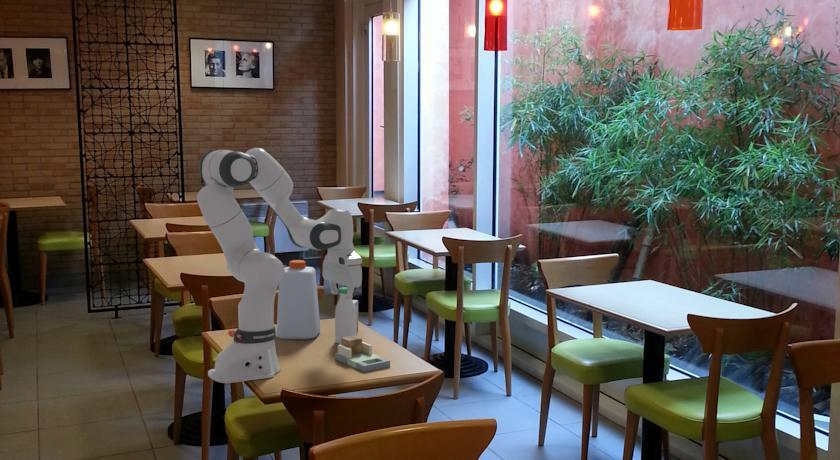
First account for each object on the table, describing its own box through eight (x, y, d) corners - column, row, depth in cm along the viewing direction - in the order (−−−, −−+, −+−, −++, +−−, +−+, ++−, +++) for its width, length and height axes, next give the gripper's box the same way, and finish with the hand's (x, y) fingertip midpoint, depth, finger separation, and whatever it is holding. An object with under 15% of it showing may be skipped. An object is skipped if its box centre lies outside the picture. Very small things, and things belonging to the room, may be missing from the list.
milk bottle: (359, 344, 299) (359, 289, 296) (338, 346, 296) (338, 290, 294) (353, 338, 306) (352, 285, 303) (332, 340, 303) (332, 286, 301)
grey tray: (364, 372, 266) (364, 356, 265) (335, 358, 280) (335, 344, 279) (390, 366, 272) (390, 351, 271) (360, 354, 286) (360, 339, 285)
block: (349, 355, 277) (349, 340, 277) (341, 352, 281) (341, 337, 281) (362, 352, 280) (362, 338, 280) (354, 349, 284) (354, 335, 284)
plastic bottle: (282, 329, 319) (281, 257, 315) (321, 330, 318) (321, 258, 314) (274, 340, 304) (272, 264, 300) (315, 340, 303) (314, 264, 300)
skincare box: (354, 334, 312) (354, 303, 310) (343, 334, 313) (343, 302, 311) (358, 330, 318) (358, 299, 316) (347, 330, 319) (347, 299, 317)
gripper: (317, 253, 288) (318, 292, 290) (348, 261, 272) (349, 302, 274) (333, 251, 292) (334, 290, 294) (364, 259, 276) (365, 300, 278)
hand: (341, 296), depth 284 cm, fingers open, 8 cm apart
